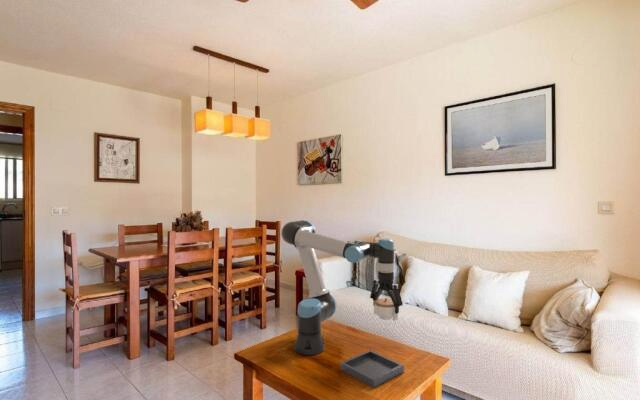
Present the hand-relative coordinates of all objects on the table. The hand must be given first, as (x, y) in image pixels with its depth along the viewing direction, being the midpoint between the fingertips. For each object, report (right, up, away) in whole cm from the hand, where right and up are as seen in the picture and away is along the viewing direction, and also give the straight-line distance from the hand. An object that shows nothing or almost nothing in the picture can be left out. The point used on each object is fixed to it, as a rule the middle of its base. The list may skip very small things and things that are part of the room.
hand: (385, 316), depth 169 cm
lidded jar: (0, -1, 0) cm, 1 cm away
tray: (-9, -18, -17) cm, 26 cm away
